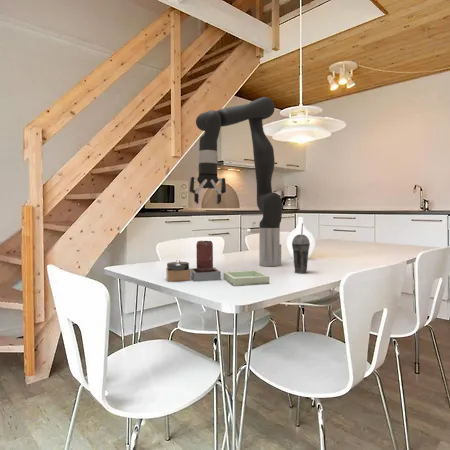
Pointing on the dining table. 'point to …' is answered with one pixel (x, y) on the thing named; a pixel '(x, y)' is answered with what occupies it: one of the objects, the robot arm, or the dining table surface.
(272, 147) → the robot arm
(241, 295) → the dining table surface
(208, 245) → the can
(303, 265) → the beverage cup
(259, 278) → the tray
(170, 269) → the brown and grey dock
